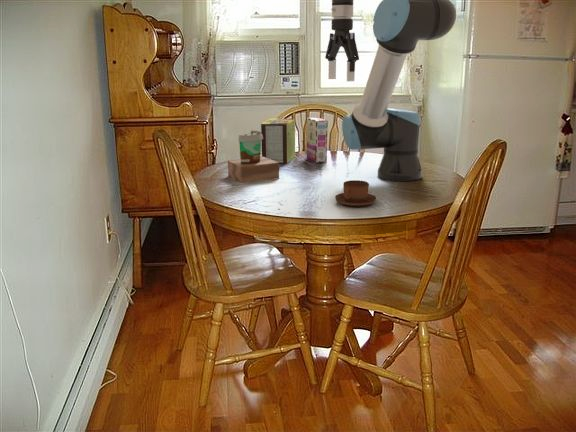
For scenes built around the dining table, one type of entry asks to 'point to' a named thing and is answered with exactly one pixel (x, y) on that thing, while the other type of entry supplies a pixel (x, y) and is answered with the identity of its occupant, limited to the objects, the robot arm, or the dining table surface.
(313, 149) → the candy bar box
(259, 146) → the food container
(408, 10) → the robot arm
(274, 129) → the protein box
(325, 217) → the dining table surface
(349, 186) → the cup and saucer
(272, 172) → the walnut block
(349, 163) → the dining table surface
